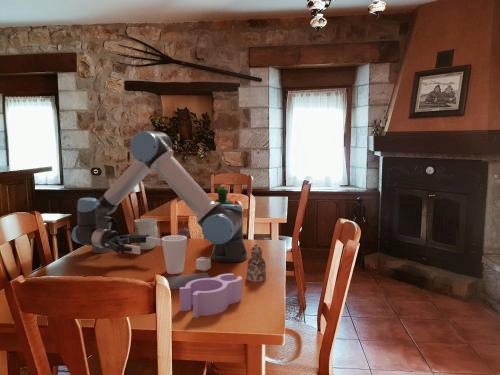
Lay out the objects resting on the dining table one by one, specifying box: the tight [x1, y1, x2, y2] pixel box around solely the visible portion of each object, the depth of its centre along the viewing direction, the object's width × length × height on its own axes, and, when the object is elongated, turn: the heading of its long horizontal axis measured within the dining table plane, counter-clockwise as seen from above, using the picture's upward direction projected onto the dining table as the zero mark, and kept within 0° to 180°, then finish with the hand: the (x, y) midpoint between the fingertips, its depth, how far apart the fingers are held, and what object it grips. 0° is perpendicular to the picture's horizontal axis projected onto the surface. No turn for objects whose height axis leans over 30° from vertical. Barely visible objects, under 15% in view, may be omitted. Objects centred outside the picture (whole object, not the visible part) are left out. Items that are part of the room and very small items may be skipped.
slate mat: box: [165, 272, 212, 291], centre depth 143 cm, size 16×10×1 cm, turn 111°
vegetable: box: [177, 221, 191, 239], centre depth 201 cm, size 6×6×10 cm
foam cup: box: [161, 234, 188, 275], centre depth 154 cm, size 10×9×13 cm
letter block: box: [195, 256, 212, 272], centre depth 158 cm, size 4×4×4 cm
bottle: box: [213, 185, 234, 205], centre depth 196 cm, size 11×11×28 cm
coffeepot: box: [91, 215, 118, 254], centre depth 183 cm, size 15×9×18 cm, turn 68°
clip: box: [178, 273, 243, 319], centre depth 123 cm, size 20×12×7 cm, turn 135°
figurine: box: [246, 244, 267, 283], centre depth 146 cm, size 7×7×12 cm
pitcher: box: [133, 217, 159, 250], centre depth 189 cm, size 11×18×14 cm, turn 33°
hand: (150, 246), depth 158 cm, fingers open, 13 cm apart
